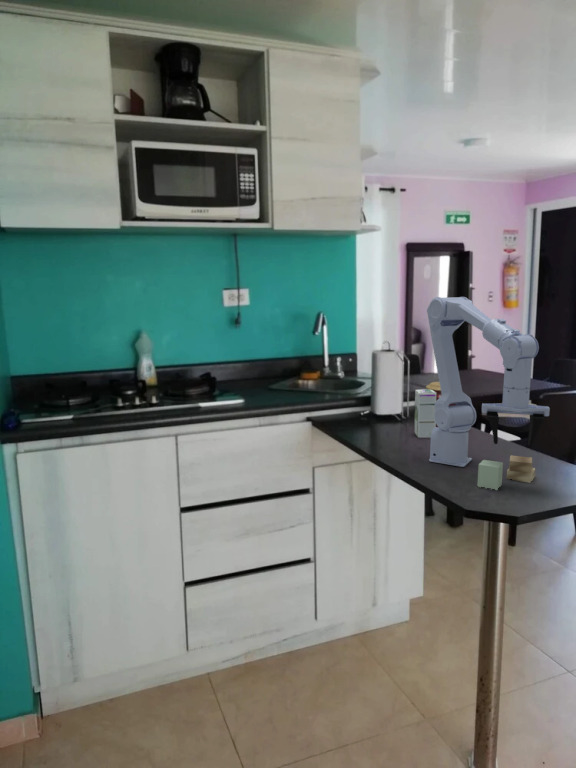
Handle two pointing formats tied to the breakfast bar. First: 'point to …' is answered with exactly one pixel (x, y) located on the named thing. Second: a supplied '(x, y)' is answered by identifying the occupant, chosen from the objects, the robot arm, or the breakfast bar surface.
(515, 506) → the breakfast bar surface
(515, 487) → the breakfast bar surface
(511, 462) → the slab top
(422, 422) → the syrup box
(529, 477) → the slab bottom
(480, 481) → the block
